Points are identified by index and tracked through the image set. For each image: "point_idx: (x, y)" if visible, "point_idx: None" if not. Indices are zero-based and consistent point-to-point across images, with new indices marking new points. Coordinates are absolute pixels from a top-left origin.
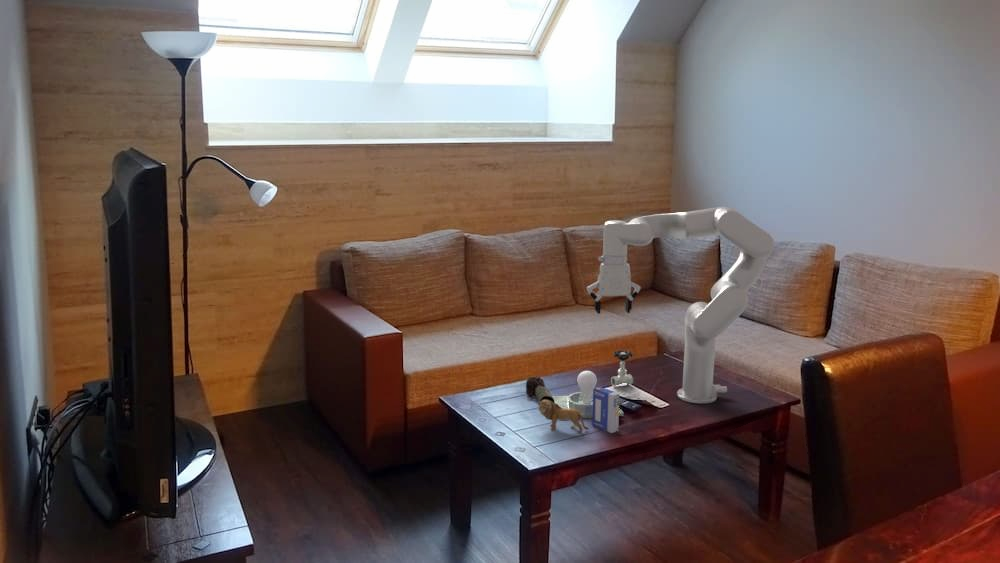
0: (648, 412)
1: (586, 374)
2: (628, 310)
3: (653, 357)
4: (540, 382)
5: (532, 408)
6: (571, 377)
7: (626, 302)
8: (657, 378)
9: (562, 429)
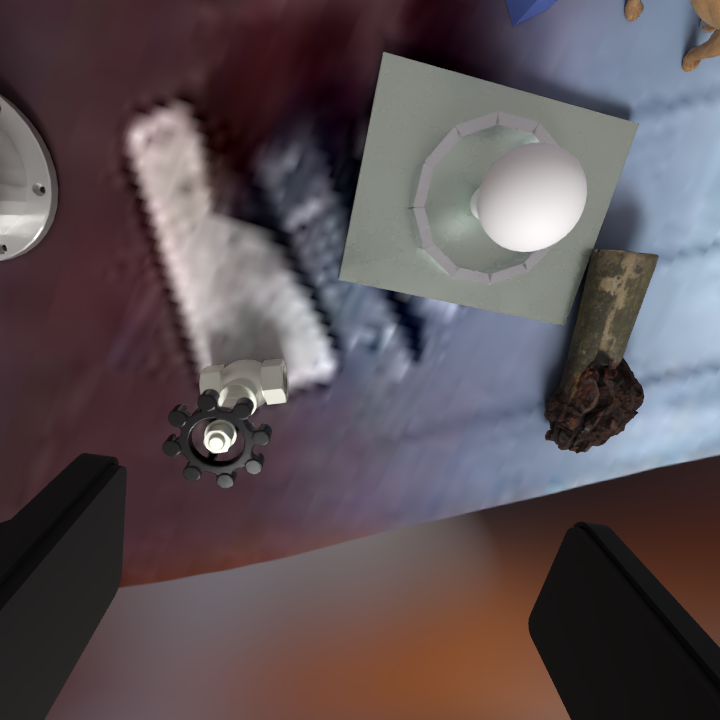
0: (256, 69)
1: (570, 169)
2: (92, 476)
3: None
4: (597, 388)
5: None
6: (390, 495)
7: (19, 706)
8: (77, 416)
9: (673, 13)
